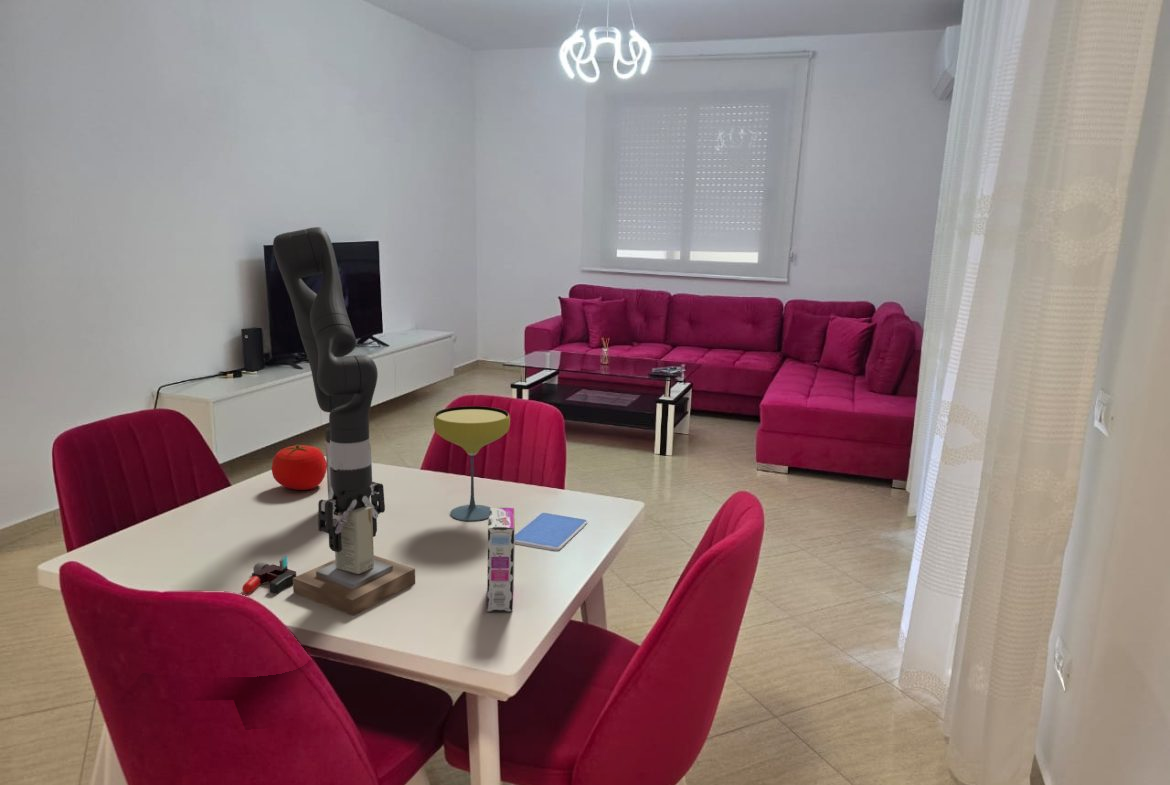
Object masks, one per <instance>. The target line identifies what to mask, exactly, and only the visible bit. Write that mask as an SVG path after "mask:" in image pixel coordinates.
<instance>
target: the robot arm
mask: <svg viewBox="0 0 1170 785" xmlns="http://www.w3.org/2000/svg"><path fill="white" fill-rule="evenodd" d="M330 238H331V237H330V236H329V234H328V232H327V231H326V230H325V229H324V228H323V227H319V226H315V227H309V228H308V227H307V228H304V229H299V230H295V231H288V232H284V233H281V234H278V235H276V236H275V237H274V238H273V241H272V242H273V243H272V247H273V248H272V249H273V253H274V258H275V260H276V263H277V268H278V269H279V272H280V274H281V278H282V280H283V282H284V285H285V288H286V291H287V293H288V295H289V299H290V301H291V305H292V308H293V312H294V317H295V321H296V325H297V329H298V332H299V335H300V339H301V342H302V345H303V348H304V351H305V354H306V356H307V361H308V364H309V367H310V372H311V376H312V381H313V382H312V383H313V387H314V392H315V397H316V402H317V405H318V407H319V408H320V410H321V411H322V412H325V413H329V414H328V416H329V417H328V422H329V426H328V428H326V430H325V433H324V435H325V456H326V457H325V460H326V463H327V469H326V478H327V481H326V482H327V500H325V499H320V500H319V501H318V504H317V505H318V506H317V507H318V509H317V510H318V515H317V516H318V525H317V526H318V531H319V532H321V533H322V532H323V533H325V534H328V547H329V550H331V551H333V552H334V553H335V552H340V551H342V540H341V533H340V531H341V529H342V527H343V524H344V523H346V522H347V520H348V518H349V516H350V514H351V512H352V511H353V510H355V509H358V508H361V507H372V522H373V538H374V537H376V536H377V532H378V531H377V530H378V523H377V519H378V518H379V514H381V513H384V512H385V510H386V505H385V492H384V491H385V490H384V485H383V483H380V482H376V481H373V464H372V462H373V460H372V446H371V442H370V441H371V439H370V413H371V407H372V401H373V398H374V395H375V394H374V393H375V390H376V386H377V382H378V368H377V365H376V363H375V361H374V360H373V358H371V357H370V356H369V355H365V354H360V355H359V354H358V355H349V354H351V353H352V352H353V351H354V349H355V348H356V346H357V339H356V336H355V332H354V329H353V326H352V324H351V321H350V317H349V315H348V312H347V308H346V304H345V298H344V292H343V286H342V282H341V276H340V271H339V267H338V262H337V258H336V253H335V250H334V246H333V243H332V241H331V239H330ZM316 275H322V280H321V283H320V286H319V288H318V292H317V293H316V292H315V291H314V290H312V289H311V288H310V287H308V285H307V284H306V282H304V280H303V279H302V278H309V277H312V276H313V277H314V276H316ZM339 512H340V513H341V514H342V516H338V513H339ZM337 521H338V522H337ZM336 522H337V524H336ZM335 524H336V526H335Z"/></svg>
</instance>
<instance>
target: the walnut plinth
mask: <svg viewBox="0 0 1170 785" xmlns="http://www.w3.org/2000/svg"><path fill="white" fill-rule="evenodd" d="M414 584H416V568H414V567H411V566H409V565H406V564H403V563H399V562H396V561H393V560H390V559H386V558H383V557H381V556H378V555H375V554H374V567H373V568H371V569H369V570H367V571H364V572H362V573H360V574H356V573H352V572H349V571H345V570H341V569H338V568H336V561H335V559H332V560H331V561H328V562H326V563H324V564H321V565H319V566H317V567H315V568H313V569H310V570H308V571H306V572H305V571H304V572H303V573H301V574H299V575H296V577H294V578H293V584H292V587H293V588H292V589H293V590H292V591H293V594H295V595H299V596H301V597H304V598H306V599H308V600H312V601H314V602H317V603H319V604H322V605H324V606H328V607H329V608H332V609H335V610H338V611H341V612H343V613H345V614H348V615H350V616H355V615H357V614H359V613H361V612H363V611H365V610H366V609H368V608H370V607H372V606H374V605H376V604H378V603H379V602H382V601H384V600H385V599H387V598H389V597H391V596H393V595H395V594H396V593H398V592H401V591H403V590H405V589H406V588H408V587H410V586H412V585H414Z"/></svg>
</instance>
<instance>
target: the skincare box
mask: <svg viewBox="0 0 1170 785" xmlns="http://www.w3.org/2000/svg"><path fill="white" fill-rule="evenodd" d="M338 516H342V514H341V513H340V512H339V513H338ZM337 522H338V521H337ZM337 522H336V524H337ZM336 524H335V526H336ZM340 533H341V540H342V551H340V552H335V551H334V553H335V554H334V558H335V559H334V560H335V561H336V568H338V569H341V570H345V571H349V572H352V573H356V574H360V573H362V572H364V571H367V570H369V569H371V568H373V567H374V555H375V554H374V553H375V552H374V551H375V550H374V537H373V522H372V507H361V508H358V509H355V510H353V511H352V512H351V514H350V516H349V518H348V520H347V522H346V523H344V524H343V527H342V529H341V531H340Z"/></svg>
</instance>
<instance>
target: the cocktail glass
mask: <svg viewBox="0 0 1170 785" xmlns="http://www.w3.org/2000/svg"><path fill="white" fill-rule="evenodd" d="M510 426H511V416H510V414H509V412H508V411H507V410H504V409H502V408H499V407H498V408H497V407H491V406H484V405H483V406H481V405H466V406H465V405H464V406H455V407H448V408H443V409H441V410H439V411H436V412H435V413H434V416H433V429H434V431H435V433H436V434H437V435H438V436H439V437H441V438H442V439H444V440H445V441H447V442H450V443H453V444H454V445H456V446H459V447H461V448H462V449H463V450H464V451H465V453H466V454H467V455H469V456H470V500H469V504H464V505H459V506H457V507H454V508H452V509H451V511H450V512H449V515H450V516H451V518H453V519H455V520H457V521H462V522H481V521H485V520H489V513H490V508H491V506H488V505H482V504H476V500H475V488H474V487H475V486H474V485H475V483H474V482H475V481H474V471H475V470H474V462H475V461H474V460H475V459H474V456H476V455H477V454H478V453H479V452H480V450H481V449H482V448H483V447H485V446H486V445H489V444H492V443H493V442H495V441H497V440H499V439H501V438H503V436H505V435H506V434H507V433H508V432H509V429H510Z"/></svg>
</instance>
